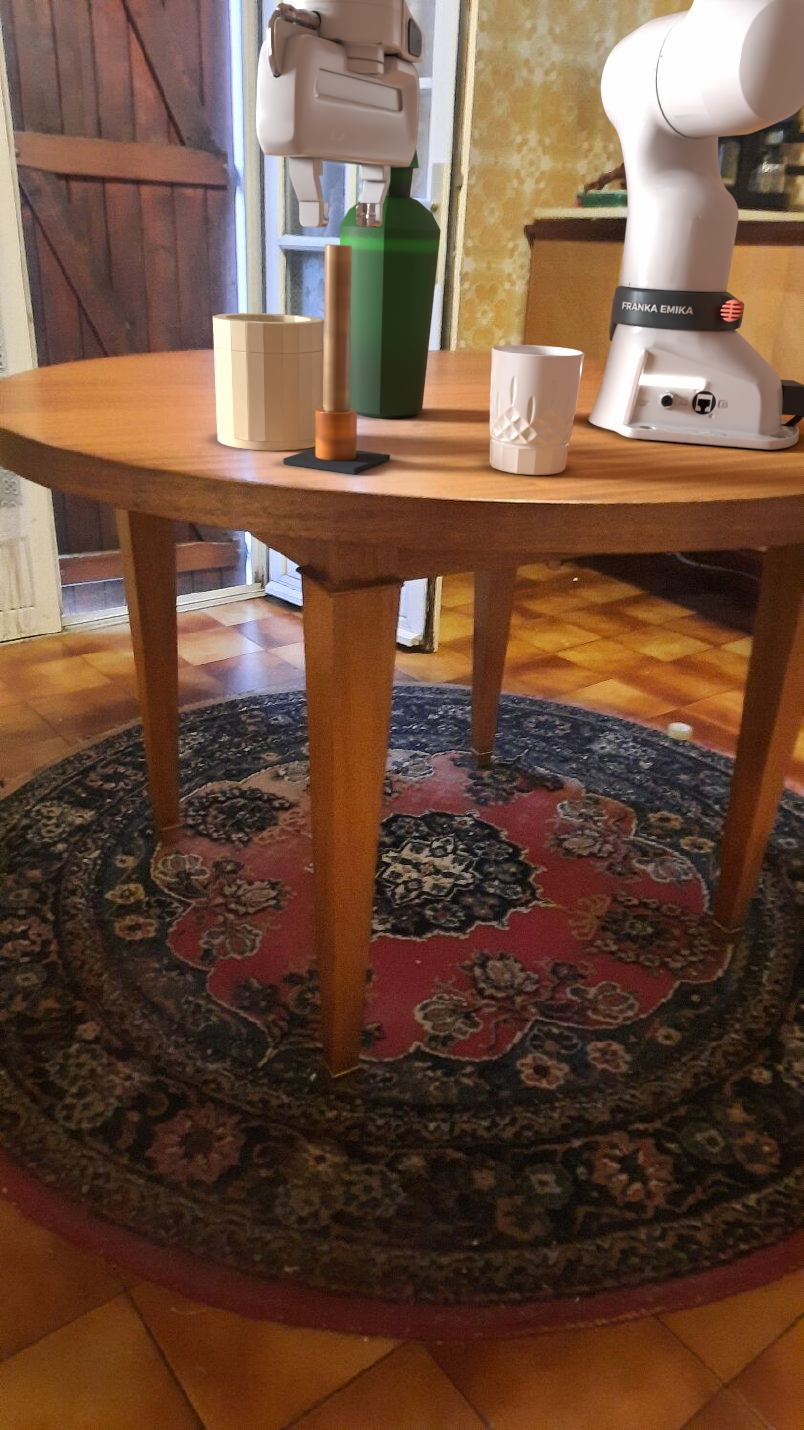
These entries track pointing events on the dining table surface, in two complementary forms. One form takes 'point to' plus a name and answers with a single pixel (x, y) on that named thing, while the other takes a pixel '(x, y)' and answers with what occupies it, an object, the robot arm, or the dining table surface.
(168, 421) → the dining table surface
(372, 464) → the mat
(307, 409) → the jar
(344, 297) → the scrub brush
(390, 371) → the bottle
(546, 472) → the white cup
